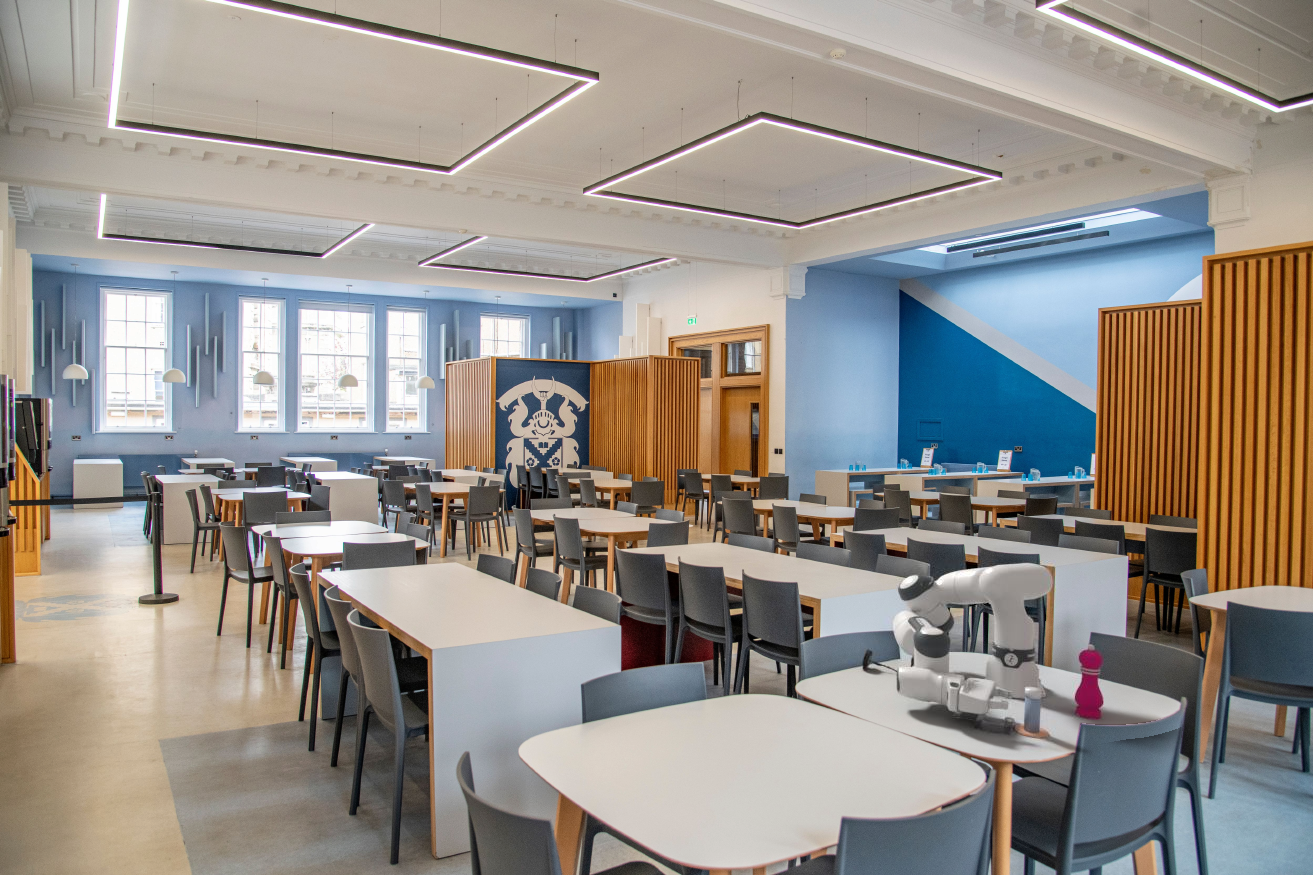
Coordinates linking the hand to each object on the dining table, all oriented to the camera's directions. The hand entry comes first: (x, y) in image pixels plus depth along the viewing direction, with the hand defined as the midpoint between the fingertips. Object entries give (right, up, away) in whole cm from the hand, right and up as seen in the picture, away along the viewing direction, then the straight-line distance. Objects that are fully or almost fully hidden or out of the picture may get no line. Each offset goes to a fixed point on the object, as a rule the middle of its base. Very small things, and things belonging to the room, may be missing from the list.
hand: (1010, 700), depth 218 cm
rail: (-7, -7, +2) cm, 10 cm away
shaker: (+5, -7, -2) cm, 9 cm away
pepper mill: (+28, -8, +13) cm, 31 cm away
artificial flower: (-16, -7, +47) cm, 50 cm away
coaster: (+5, -8, -2) cm, 9 cm away
